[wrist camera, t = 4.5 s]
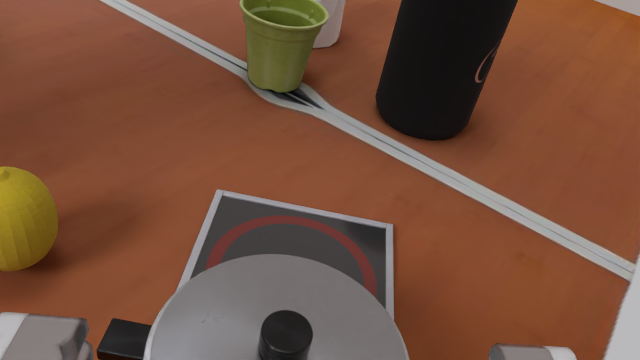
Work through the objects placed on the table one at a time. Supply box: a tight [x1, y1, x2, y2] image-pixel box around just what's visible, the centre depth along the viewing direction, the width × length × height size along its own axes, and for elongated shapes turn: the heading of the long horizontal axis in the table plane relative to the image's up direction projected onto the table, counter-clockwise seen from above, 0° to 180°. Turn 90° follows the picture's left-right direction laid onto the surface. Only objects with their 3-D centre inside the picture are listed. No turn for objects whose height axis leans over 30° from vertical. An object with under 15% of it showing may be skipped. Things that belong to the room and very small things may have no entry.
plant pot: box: [240, 0, 329, 92], centre depth 60 cm, size 9×9×9 cm
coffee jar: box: [376, 0, 518, 140], centre depth 56 cm, size 11×11×18 cm
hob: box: [176, 189, 394, 321], centre depth 35 cm, size 28×15×1 cm, turn 175°
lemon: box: [0, 167, 58, 271], centre depth 34 cm, size 6×6×8 cm
